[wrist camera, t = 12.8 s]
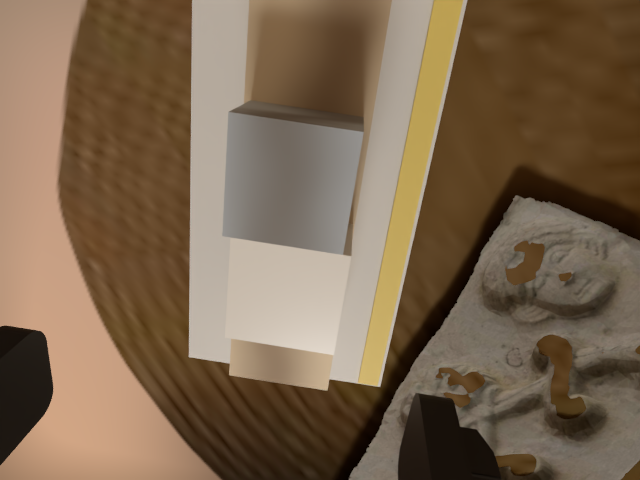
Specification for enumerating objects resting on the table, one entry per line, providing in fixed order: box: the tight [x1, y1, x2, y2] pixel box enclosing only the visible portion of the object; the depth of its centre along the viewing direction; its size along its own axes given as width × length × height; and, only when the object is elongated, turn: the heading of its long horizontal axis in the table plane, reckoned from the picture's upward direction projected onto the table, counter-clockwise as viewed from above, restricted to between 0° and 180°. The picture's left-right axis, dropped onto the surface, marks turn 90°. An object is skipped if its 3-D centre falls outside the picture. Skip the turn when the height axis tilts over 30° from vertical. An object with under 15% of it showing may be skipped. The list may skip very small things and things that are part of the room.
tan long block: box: [229, 0, 392, 390], centre depth 22 cm, size 5×18×4 cm, turn 173°
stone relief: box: [349, 195, 640, 480], centre depth 35 cm, size 32×3×20 cm
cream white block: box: [225, 223, 353, 355], centre depth 19 cm, size 4×4×3 cm
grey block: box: [222, 100, 364, 255], centre depth 17 cm, size 4×4×3 cm
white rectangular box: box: [189, 0, 467, 387], centre depth 26 cm, size 12×24×6 cm, turn 173°
